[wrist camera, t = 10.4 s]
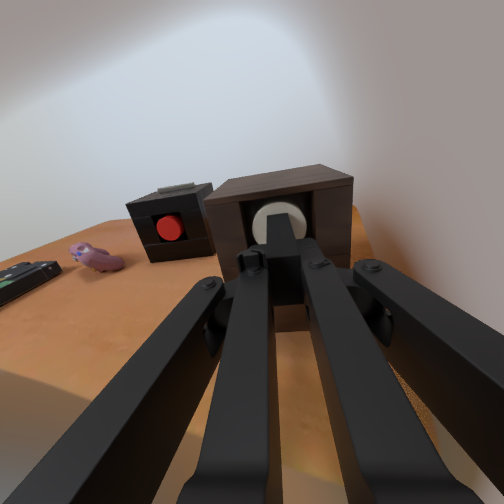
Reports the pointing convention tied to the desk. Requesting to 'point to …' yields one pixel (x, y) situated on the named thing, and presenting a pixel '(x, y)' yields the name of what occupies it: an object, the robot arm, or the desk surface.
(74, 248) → the video game controller
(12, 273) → the disk drive
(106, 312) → the desk surface
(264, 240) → the timer button
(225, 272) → the box
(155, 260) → the dark button box
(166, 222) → the button
